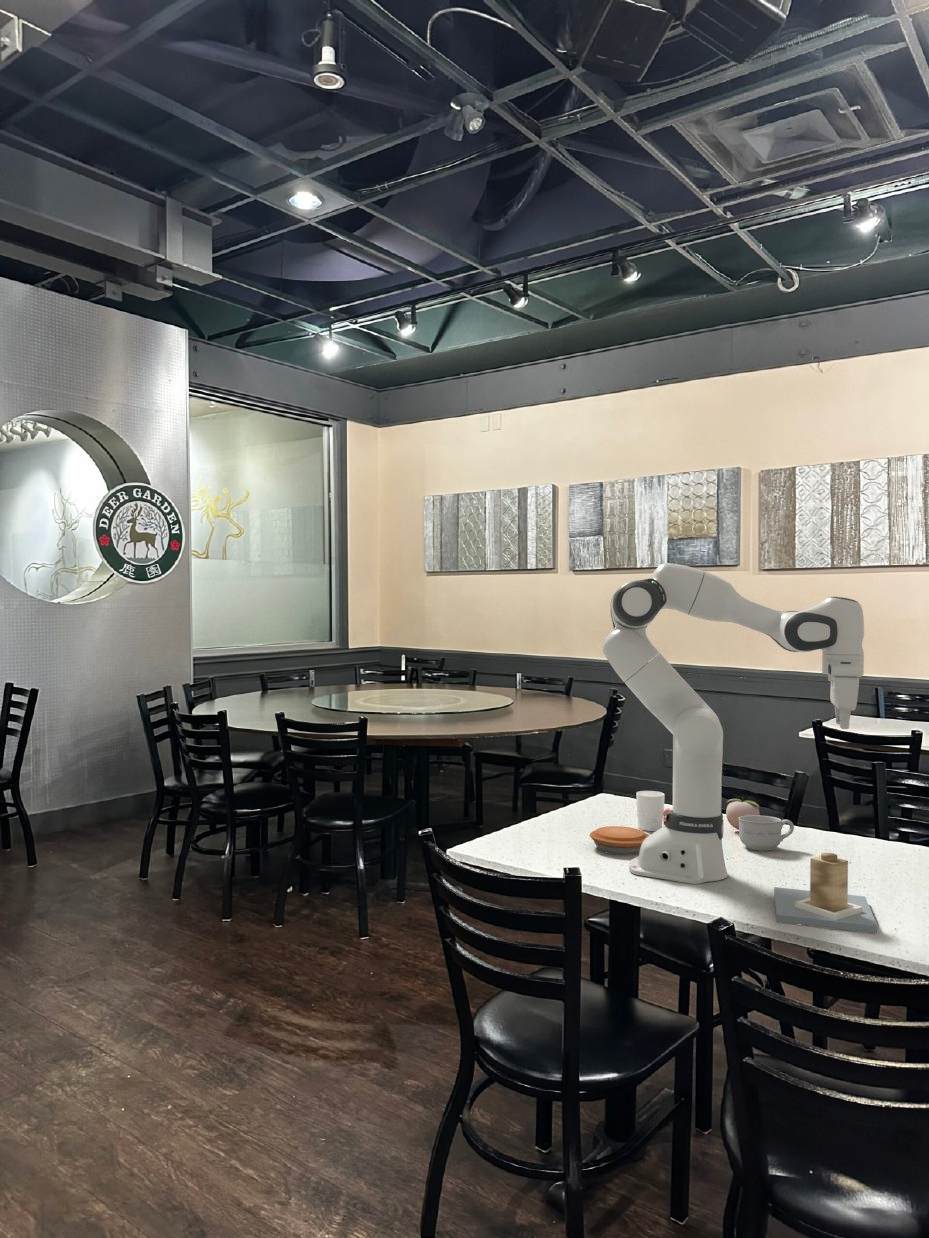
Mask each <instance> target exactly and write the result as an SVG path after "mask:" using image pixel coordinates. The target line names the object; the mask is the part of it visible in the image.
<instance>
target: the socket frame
mask: <svg viewBox="0 0 929 1238" xmlns="http://www.w3.org/2000/svg"><path fill="white" fill-rule="evenodd" d="M795 907H797V908H800V909H803V910H806V911H809V912H812V913H815V914H818V915H821V916H825V917H828V918H831V919H834V920H838V919H841V918H844V917H848V916H851V915H854V914H857V913H860V912H863V907H862V906H858V905H855V904H852V903H848V908H847V909H844V910H841V911H838V912H835V913H834V912H831V911H828V910H825V909H821V908H818V907H815V906H812V905H810V898H807V899H804V900H800V901H797V902H795Z"/></svg>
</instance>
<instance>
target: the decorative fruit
mask: <svg viewBox="0 0 929 1238" xmlns="http://www.w3.org/2000/svg"><path fill="white" fill-rule="evenodd" d="M744 797H745V796H742V797H741V798H742V799H740V798H731V799H728V800H727V801H726V803H728V804H727V806H726V811H725V817H726V819H727V822H728V823H729V825H731V827H732V828H735V829H736V830H738V831H739V819H738V818H739V817H741V816H748V815H759V816H761V814H760V813H761V812H760V809H761V807H760V805H759V804H758V803H756V802H755V801H752V800H744ZM729 802H730V803H729Z"/></svg>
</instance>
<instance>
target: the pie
mask: <svg viewBox="0 0 929 1238" xmlns="http://www.w3.org/2000/svg"><path fill="white" fill-rule="evenodd" d="M648 836H650V834H648V833H646V832H645V831H644V830H641V829H639V828H635V827H629V826H621V825H620V826H617V825H615V826H614V825H613V826H611V825H609V826H603V827H602V826H601V827H599V828H597V829H595V830H593V831H591V832H590V834H589V837H590V838H591V840H593V843H594V845H595V846H596V849H598V851H600V850H601V851H600V852H603V853H605V852H607V853H606V854H610V853H611V855H617V854H619V855H620V856H629V855H630V856H631V854H632V855H637V854H639V851H640V848H641V845H642V843H643V841H644V840H645V839H646V838H647V837H648ZM636 853H637V854H636Z"/></svg>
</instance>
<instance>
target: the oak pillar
mask: <svg viewBox="0 0 929 1238" xmlns="http://www.w3.org/2000/svg"><path fill="white" fill-rule="evenodd" d="M809 861H810V867H809V869H810V874H809V875H810V876H809V878H810V879H809V883H810V885H809V891H810V905H812V906H815V907H818V908H821V909H825V910H828V911H831V912H834V913H835V912H838V911H841V910H844V909H847V908H848V895H849V893H848V891H849V890H848V889H849V887H848V886H849V885H848V884H849V881H848V880H849V879H848V877H849V861H848V860H847V859H843V858H840V857H839V858H838V854H836V853H832V852H822V853H821V854H820V855H819V856H814V857H811V858H810V860H809Z"/></svg>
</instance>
